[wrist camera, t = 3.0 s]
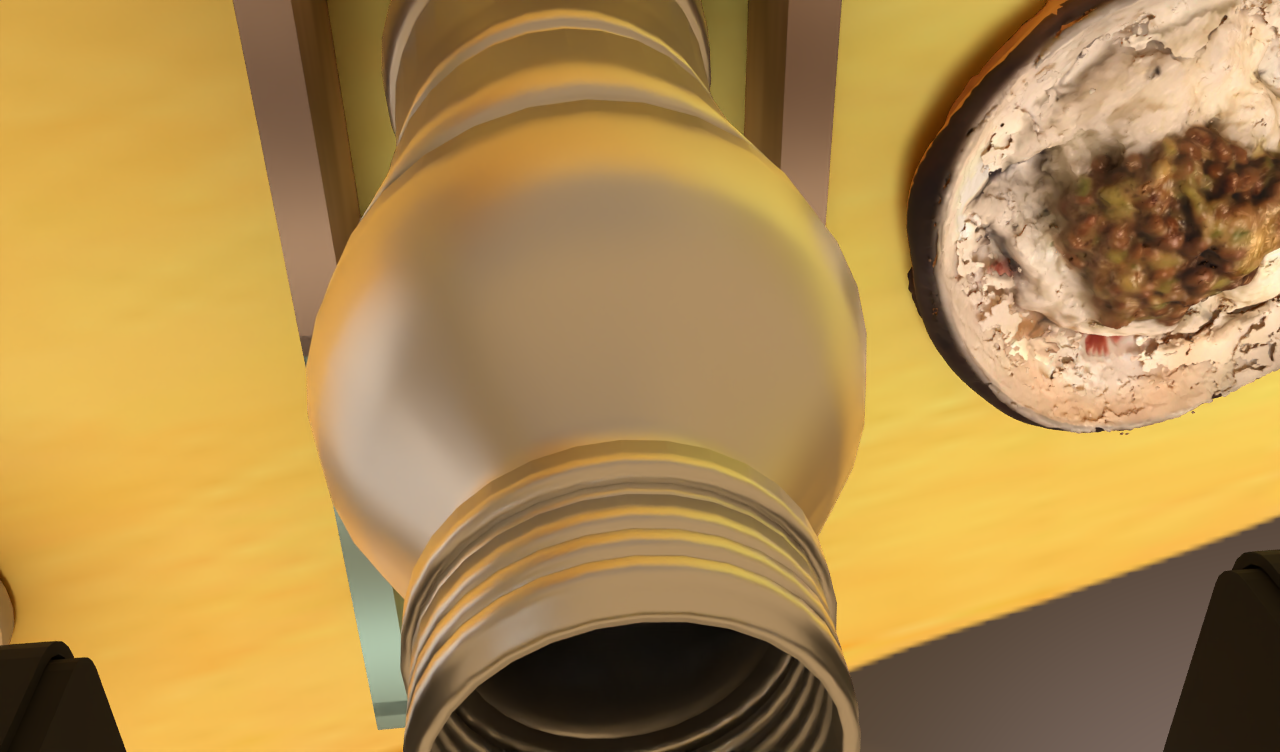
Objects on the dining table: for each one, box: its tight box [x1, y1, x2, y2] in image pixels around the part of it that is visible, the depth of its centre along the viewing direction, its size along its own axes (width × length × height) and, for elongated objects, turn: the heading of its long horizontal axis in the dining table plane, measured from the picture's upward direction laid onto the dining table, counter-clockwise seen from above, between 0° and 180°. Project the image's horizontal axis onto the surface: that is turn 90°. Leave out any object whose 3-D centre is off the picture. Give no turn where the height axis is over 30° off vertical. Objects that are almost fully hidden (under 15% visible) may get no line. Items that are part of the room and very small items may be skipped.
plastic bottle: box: [306, 0, 866, 752], centre depth 18 cm, size 6×7×20 cm
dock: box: [233, 0, 842, 730], centre depth 27 cm, size 23×11×4 cm, turn 1°
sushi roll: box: [907, 0, 1280, 435], centre depth 29 cm, size 15×15×4 cm
